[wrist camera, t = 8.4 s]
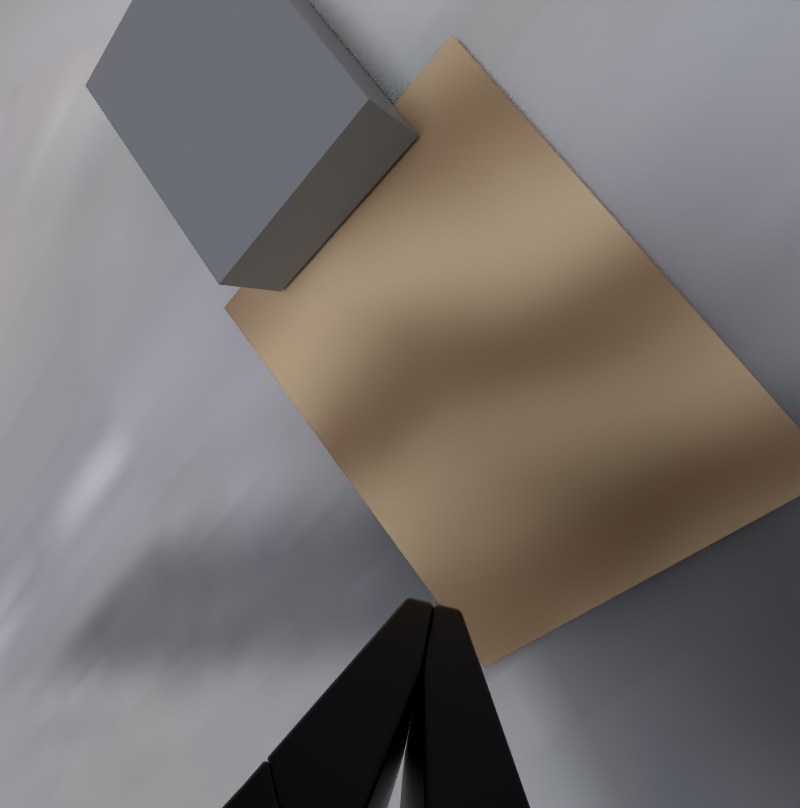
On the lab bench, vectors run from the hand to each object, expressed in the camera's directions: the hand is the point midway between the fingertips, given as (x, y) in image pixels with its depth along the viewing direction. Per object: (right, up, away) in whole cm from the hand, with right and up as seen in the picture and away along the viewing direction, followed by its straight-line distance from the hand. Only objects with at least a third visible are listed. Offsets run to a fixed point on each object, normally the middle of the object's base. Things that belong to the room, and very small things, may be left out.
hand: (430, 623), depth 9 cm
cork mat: (+2, +4, +10) cm, 11 cm away
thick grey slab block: (-3, +9, +9) cm, 13 cm away
